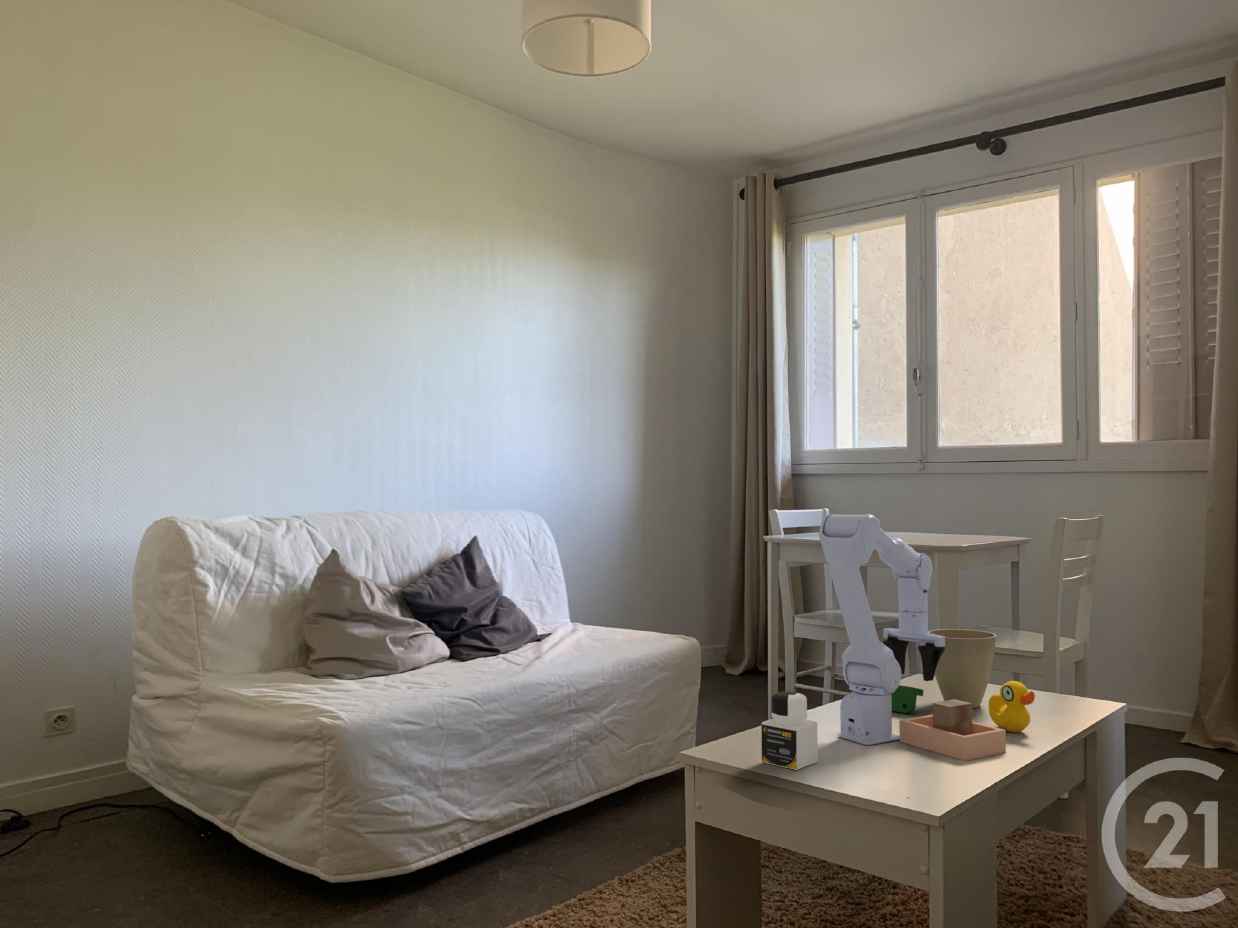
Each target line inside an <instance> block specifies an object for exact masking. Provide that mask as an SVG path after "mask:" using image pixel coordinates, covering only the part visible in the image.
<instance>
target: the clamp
mask: <svg viewBox="0 0 1238 928" xmlns="http://www.w3.org/2000/svg"><path fill="white" fill-rule="evenodd" d="M918 696H919V697H924V689H923V688H917V687H912V686H908V685H907V686H906V685H901V684H899V686H898V688H897V689H896V690H895V692H893V693H891V699H892V712H898V713H904V714H909V715H911V714H913V713H914V712H915V710H916V707H917V699H918V698H917V697H918Z"/></svg>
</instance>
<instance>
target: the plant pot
mask: <svg viewBox="0 0 1238 928" xmlns="http://www.w3.org/2000/svg"><path fill="white" fill-rule="evenodd" d="M929 632H930V633H932V634H936V635H939V636H945V646H944V647H945V650H944V652H943V654H942V655H941V657H940V659H939V661H938V664H937V667H936V671H935V674H934V678H935V679H936V682H937V686H938V688H939V690H940V694H941V696H942V698H943V701H947V700H954V699H955V700H959V701H964V702H968V703H972V709H976V708H979V707H980V706H981V704H982V702H983V699H984V697H985V693H986V690H987V687H988V684H989V679H990V676H991V672H992V668H993V664H994V663H993V662H994V657H995V649H996V643H997V642H996V641H997V634H995V633H993V632H989V631H985V630H984V631H983V630H978V629H977V630H975V629H964V628H963V629H959V628H958V629H957V628H954V629H953V628H950V629H949V628H947V629H946V628H944V629H933V630H929Z"/></svg>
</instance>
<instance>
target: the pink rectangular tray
mask: <svg viewBox="0 0 1238 928" xmlns="http://www.w3.org/2000/svg"><path fill="white" fill-rule="evenodd" d="M898 724H899V728H898V729H899V731H898V732H899V736H900V739H899V742H901V743H904V744H908V745H910V746H914V747H917V748H920V749H924V750H927V751H931V752H934V753H938V754H941V755H945V756H948V757H952V758H955V759H958V760H962V761H969V760H975V759H980V758H985V757H989V756H994V755H999V754H1004V752H1005V753H1007V742H1006V741H1007V738H1006V737H1007V735H1006V732H1007V730H1004V729H1002V728H1000V727H999V728H998V727H995V726H990V725H988V724H987V725H986V724H983V723H979V722H975V721H972V731H973V734H970V735H965V736H963V735H959V734H956V733H952V732H948V731H944V730H941V729H937V728H933V714H929V715H923V716H922V715H921V716H917V717H910V718H905V719H900V720H899V723H898Z"/></svg>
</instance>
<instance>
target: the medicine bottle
mask: <svg viewBox="0 0 1238 928" xmlns="http://www.w3.org/2000/svg"><path fill="white" fill-rule="evenodd" d="M807 703H808V700H807V696H806V695H804V694H802V693H800V692H795V691H779V692H777V693H774V694H773V695H772V696H771V719H769V720H765V721H762V722H761V724H760V725H761V763H762V762H764V763H769V764H772V765H771V766H773V765H777V766H783V767H785V768H784V769H786V768H790V769H794V770H797V771H799V770H802V769H804V768H806V767H805V766H807V767H809V766H811V764H812V765H814V764H817V763H818V760H819V759H818V722H817V721H815V720H809V719H807V718H808V704H807ZM816 762H817V763H816ZM764 763H763V764H764ZM808 765H809V766H808ZM777 766H776V767H777ZM803 767H804V768H803ZM801 768H802V769H801ZM790 769H789V770H790ZM798 769H799V770H798ZM794 770H793V771H794Z"/></svg>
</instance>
